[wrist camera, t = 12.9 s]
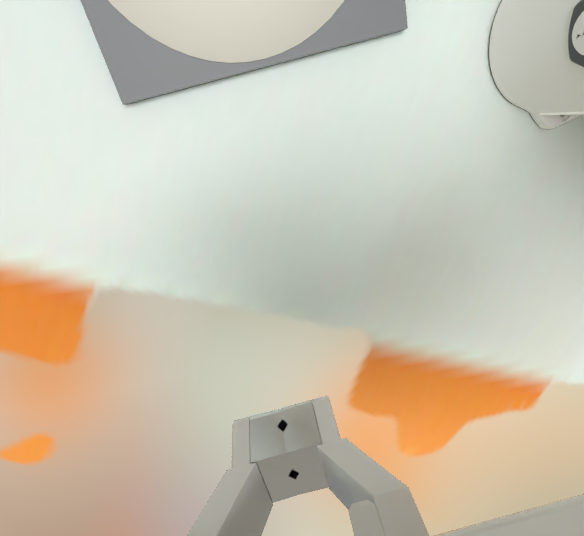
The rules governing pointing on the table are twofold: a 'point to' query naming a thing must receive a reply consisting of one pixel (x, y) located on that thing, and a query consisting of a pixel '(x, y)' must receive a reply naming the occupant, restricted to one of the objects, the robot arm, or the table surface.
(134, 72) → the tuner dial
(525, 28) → the robot arm
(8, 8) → the table surface
